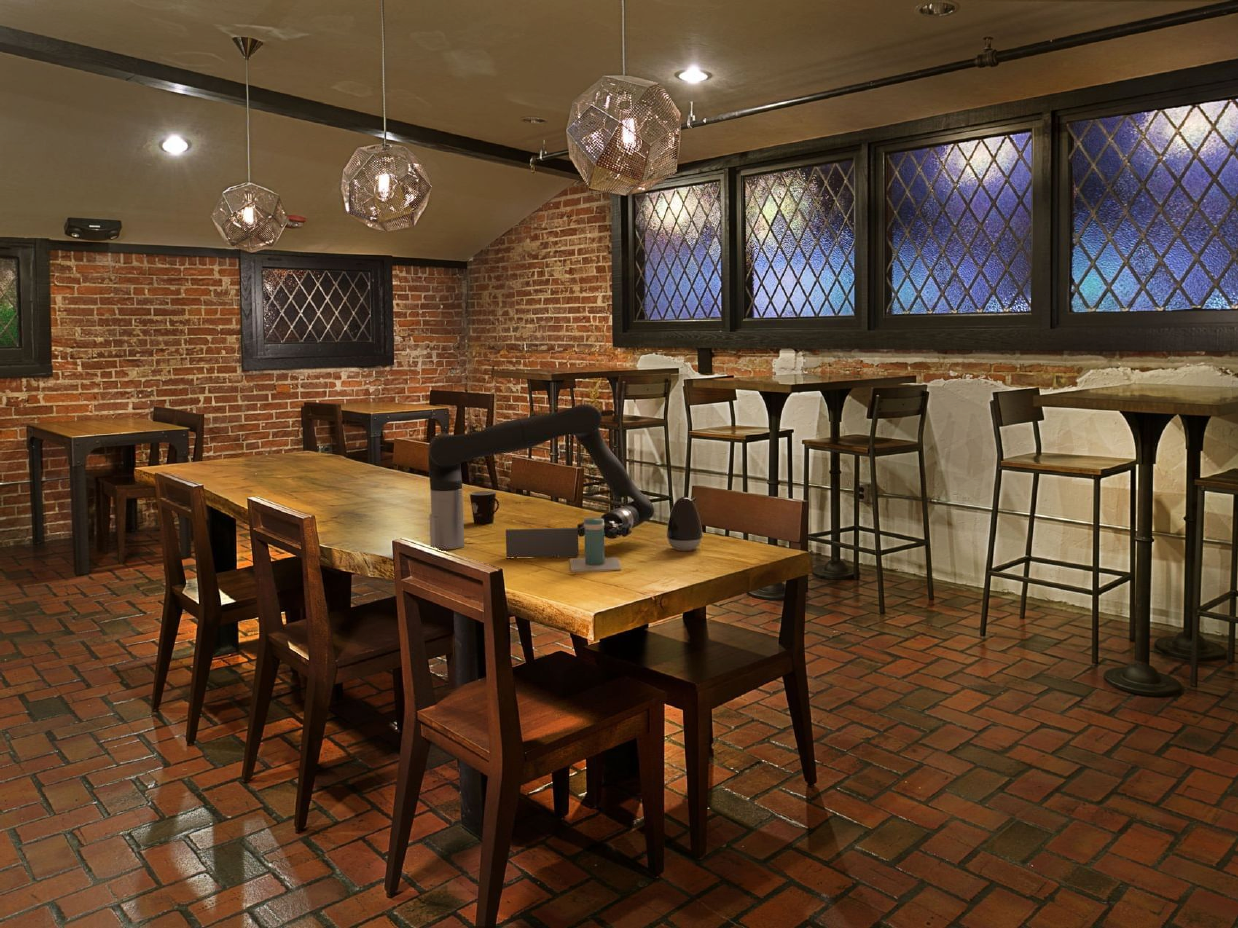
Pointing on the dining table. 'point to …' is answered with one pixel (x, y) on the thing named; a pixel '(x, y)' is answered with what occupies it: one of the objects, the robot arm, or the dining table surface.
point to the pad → (580, 565)
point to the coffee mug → (483, 506)
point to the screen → (542, 542)
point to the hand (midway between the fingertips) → (594, 533)
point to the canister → (594, 541)
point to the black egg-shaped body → (684, 525)
